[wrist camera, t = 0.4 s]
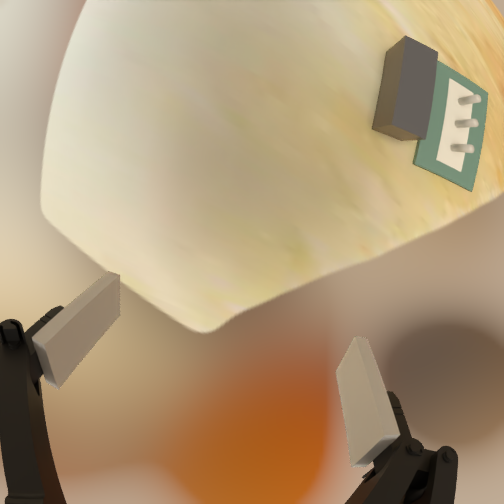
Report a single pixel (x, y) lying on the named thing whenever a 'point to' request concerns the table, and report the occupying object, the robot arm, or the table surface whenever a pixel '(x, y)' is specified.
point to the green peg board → (454, 129)
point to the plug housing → (406, 91)
